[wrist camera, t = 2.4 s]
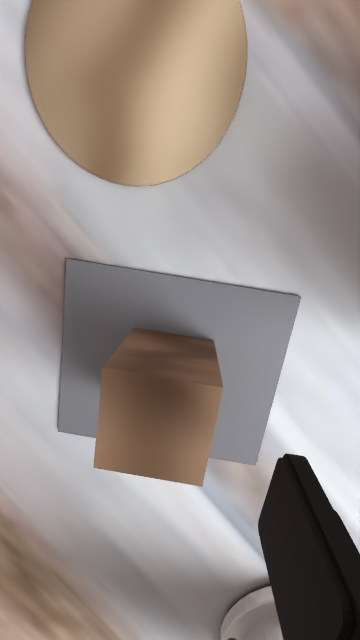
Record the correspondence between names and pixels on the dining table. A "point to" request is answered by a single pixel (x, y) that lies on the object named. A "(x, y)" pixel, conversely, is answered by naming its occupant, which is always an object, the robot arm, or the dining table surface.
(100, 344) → the gray tile
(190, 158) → the coaster
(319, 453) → the dining table surface
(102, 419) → the walnut block
